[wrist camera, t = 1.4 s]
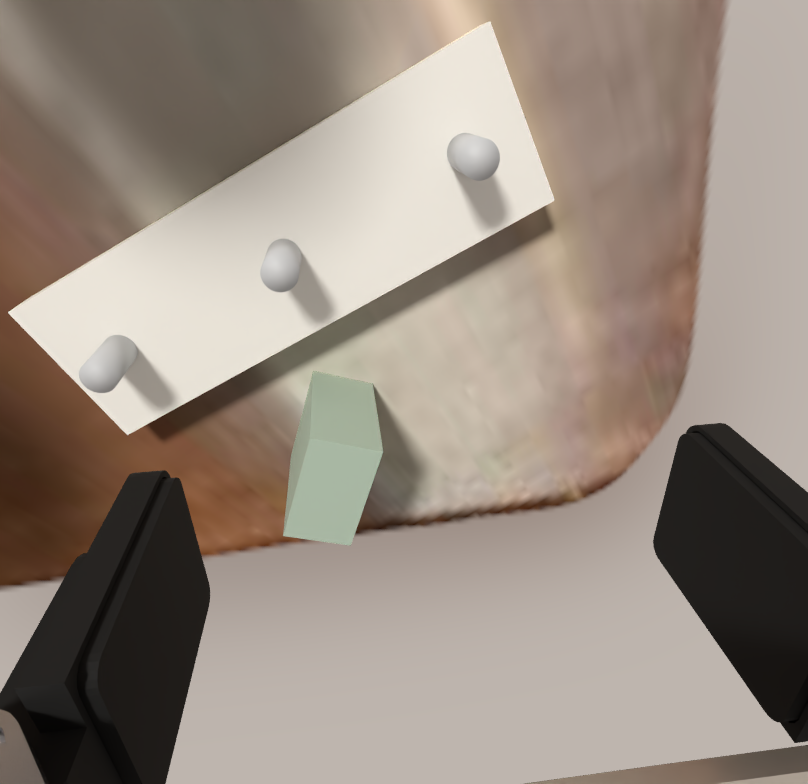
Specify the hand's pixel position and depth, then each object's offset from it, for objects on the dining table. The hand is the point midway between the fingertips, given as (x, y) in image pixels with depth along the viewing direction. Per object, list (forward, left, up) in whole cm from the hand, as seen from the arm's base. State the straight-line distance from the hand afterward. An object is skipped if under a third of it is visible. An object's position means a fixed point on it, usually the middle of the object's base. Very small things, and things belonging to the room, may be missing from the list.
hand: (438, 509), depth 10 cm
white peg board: (-4, +2, -20) cm, 21 cm away
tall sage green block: (-7, -8, -21) cm, 23 cm away
